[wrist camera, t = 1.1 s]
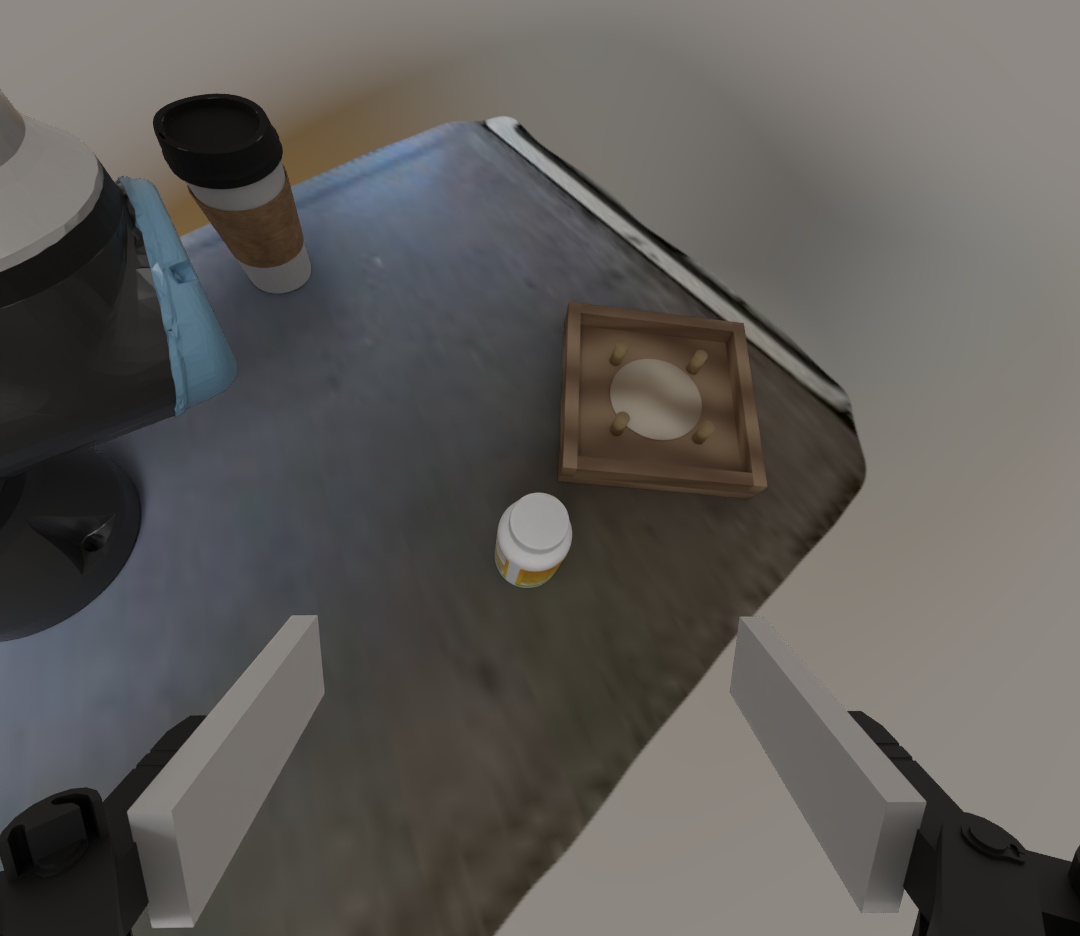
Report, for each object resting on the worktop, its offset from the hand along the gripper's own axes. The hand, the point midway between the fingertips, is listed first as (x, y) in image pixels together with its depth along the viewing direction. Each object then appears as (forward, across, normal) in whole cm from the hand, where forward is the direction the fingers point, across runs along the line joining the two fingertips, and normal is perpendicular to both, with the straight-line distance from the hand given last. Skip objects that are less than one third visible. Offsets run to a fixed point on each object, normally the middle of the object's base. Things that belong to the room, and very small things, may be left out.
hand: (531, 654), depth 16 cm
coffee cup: (+42, -25, +16) cm, 51 cm away
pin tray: (+35, +12, +4) cm, 38 cm away
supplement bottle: (+25, 0, -8) cm, 27 cm away
